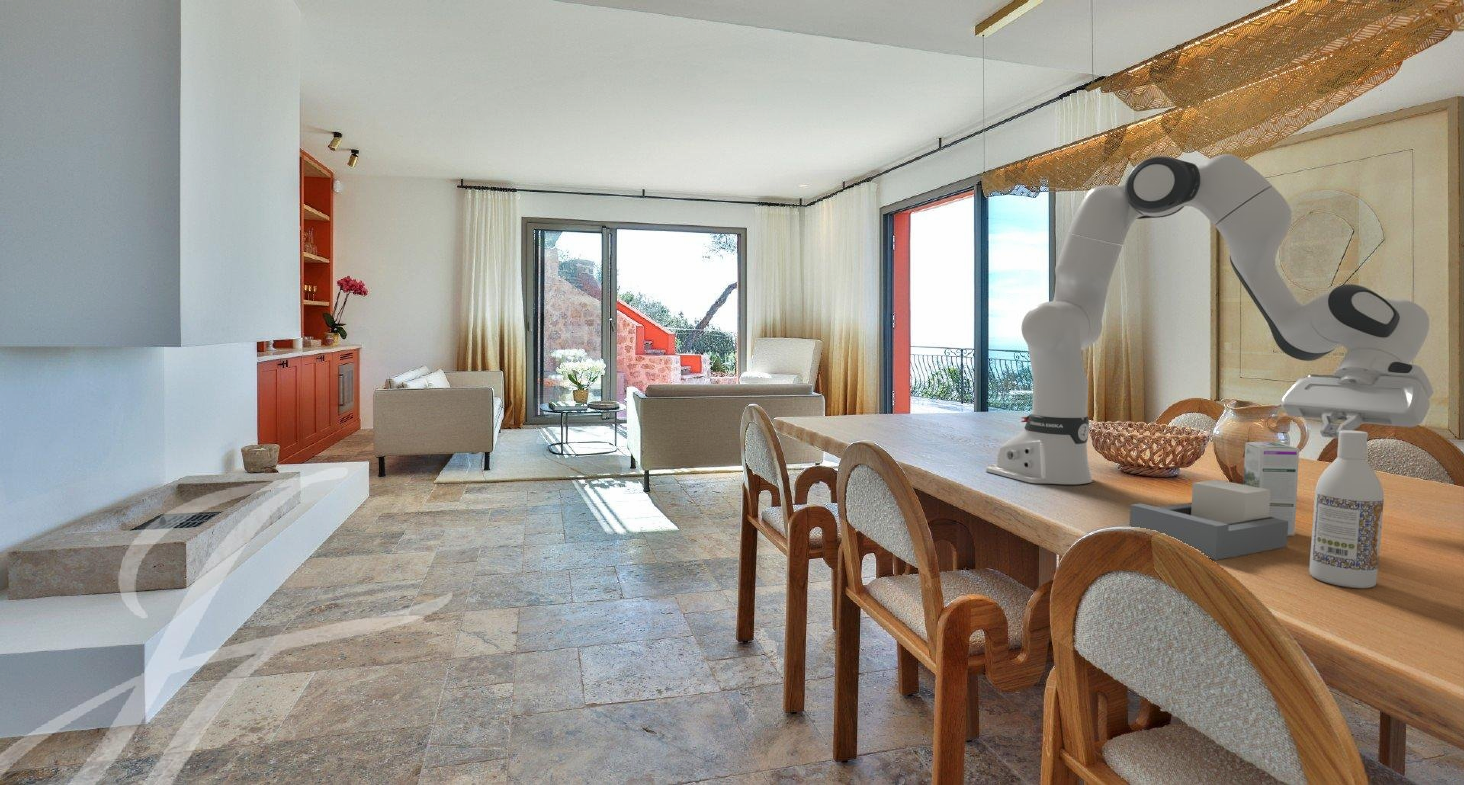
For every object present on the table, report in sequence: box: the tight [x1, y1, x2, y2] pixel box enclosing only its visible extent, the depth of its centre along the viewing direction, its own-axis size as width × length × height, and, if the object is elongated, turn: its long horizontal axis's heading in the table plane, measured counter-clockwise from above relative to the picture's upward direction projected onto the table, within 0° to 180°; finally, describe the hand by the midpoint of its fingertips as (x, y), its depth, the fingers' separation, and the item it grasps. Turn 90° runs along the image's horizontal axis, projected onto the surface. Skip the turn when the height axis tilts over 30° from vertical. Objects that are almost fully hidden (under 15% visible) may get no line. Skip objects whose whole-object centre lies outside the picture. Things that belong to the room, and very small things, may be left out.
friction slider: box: [1191, 479, 1271, 524], centre depth 118 cm, size 6×8×8 cm
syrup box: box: [1242, 441, 1300, 537], centre depth 122 cm, size 6×6×14 cm
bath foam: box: [1308, 430, 1385, 589], centre depth 97 cm, size 7×7×20 cm
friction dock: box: [1129, 501, 1288, 561], centre depth 116 cm, size 17×14×5 cm
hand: (1330, 435), depth 127 cm, fingers closed
